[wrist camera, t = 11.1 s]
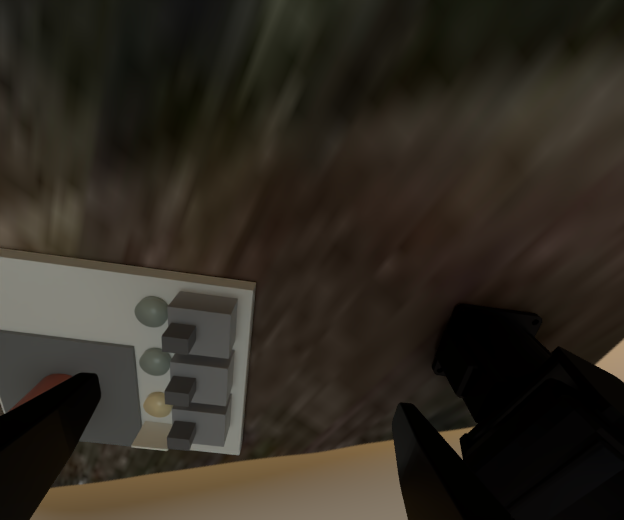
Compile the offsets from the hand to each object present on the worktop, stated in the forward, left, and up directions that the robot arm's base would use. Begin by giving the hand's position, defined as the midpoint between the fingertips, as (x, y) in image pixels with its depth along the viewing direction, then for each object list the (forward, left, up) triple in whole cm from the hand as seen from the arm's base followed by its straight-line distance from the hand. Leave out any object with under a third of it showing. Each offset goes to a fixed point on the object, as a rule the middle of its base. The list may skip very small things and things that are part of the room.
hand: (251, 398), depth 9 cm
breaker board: (+12, +12, -13) cm, 21 cm away
